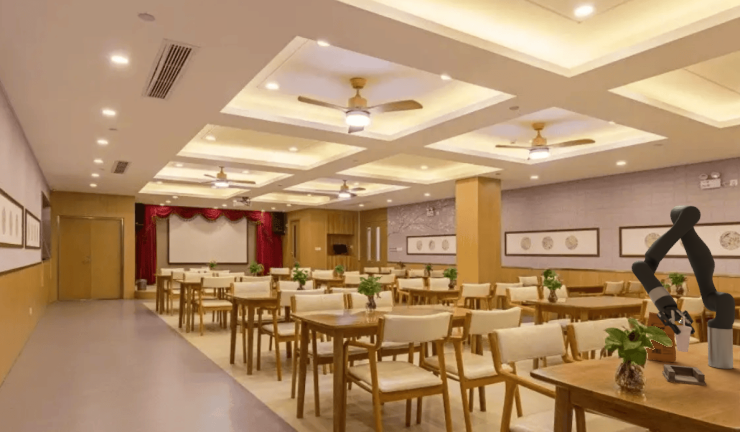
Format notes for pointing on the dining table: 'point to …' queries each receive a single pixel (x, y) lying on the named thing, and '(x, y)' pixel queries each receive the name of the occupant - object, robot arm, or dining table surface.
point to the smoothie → (683, 337)
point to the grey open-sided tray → (683, 374)
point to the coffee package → (660, 350)
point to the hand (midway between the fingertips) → (686, 333)
